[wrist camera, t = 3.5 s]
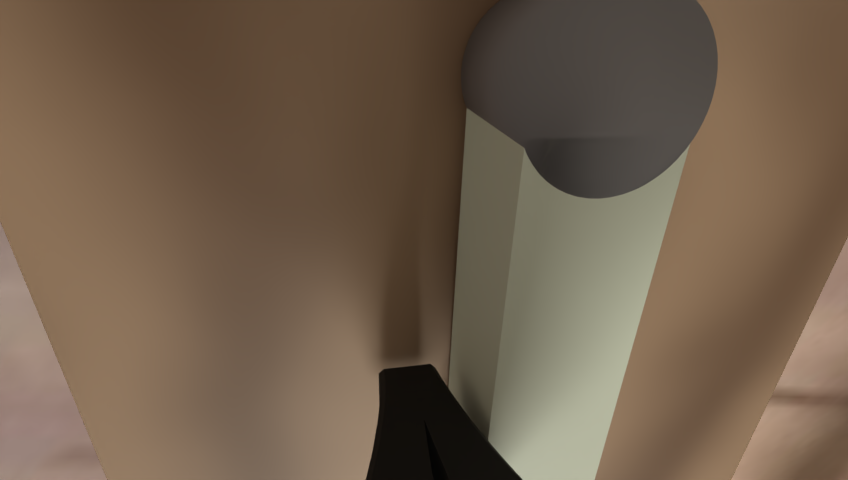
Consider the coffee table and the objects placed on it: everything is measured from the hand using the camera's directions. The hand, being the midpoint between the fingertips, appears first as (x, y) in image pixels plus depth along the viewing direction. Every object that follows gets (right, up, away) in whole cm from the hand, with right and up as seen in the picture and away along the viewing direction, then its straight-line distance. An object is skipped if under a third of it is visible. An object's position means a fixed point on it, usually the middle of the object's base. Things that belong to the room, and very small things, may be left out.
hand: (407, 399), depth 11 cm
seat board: (+2, +2, +3) cm, 4 cm away
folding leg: (+2, +3, 0) cm, 4 cm away
